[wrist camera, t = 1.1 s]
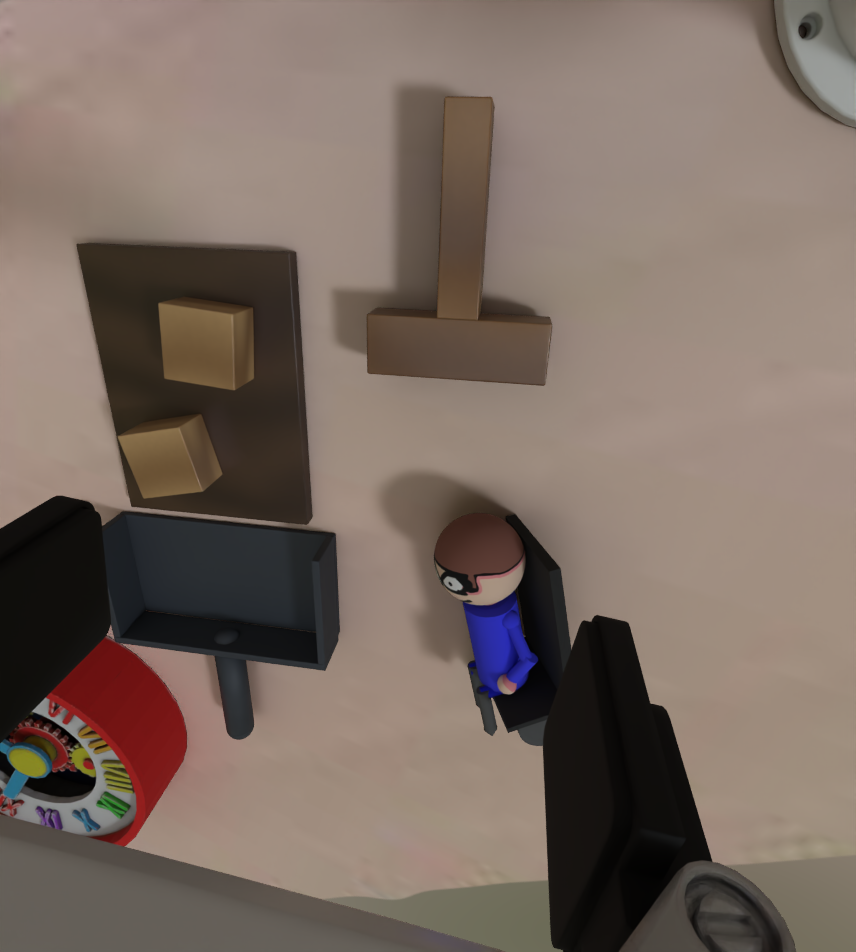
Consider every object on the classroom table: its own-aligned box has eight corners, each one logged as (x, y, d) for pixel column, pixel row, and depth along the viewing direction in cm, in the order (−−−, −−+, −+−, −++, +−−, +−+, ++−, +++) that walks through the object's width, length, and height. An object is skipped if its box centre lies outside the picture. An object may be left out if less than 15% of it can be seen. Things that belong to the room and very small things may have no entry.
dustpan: (122, 511, 39) (88, 536, 36) (335, 533, 37) (319, 561, 34) (163, 702, 46) (138, 736, 43) (344, 728, 45) (330, 766, 41)
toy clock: (187, 773, 40) (92, 889, 49) (226, 709, 46) (134, 823, 54) (-74, 618, 38) (-127, 768, 46) (-1, 568, 43) (-60, 711, 51)
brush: (379, 108, 27) (362, 95, 24) (573, 110, 26) (579, 97, 23) (380, 360, 32) (366, 374, 29) (543, 371, 31) (545, 387, 28)
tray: (88, 243, 32) (75, 243, 31) (296, 251, 30) (289, 253, 29) (140, 500, 38) (131, 506, 38) (312, 517, 37) (307, 525, 36)
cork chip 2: (143, 422, 35) (116, 436, 33) (201, 413, 34) (178, 427, 32) (166, 481, 36) (143, 499, 34) (223, 474, 35) (203, 491, 33)
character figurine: (477, 679, 41) (442, 489, 35) (582, 682, 39) (563, 481, 33) (457, 774, 34) (410, 557, 28) (584, 784, 32) (560, 552, 26)
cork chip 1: (183, 296, 31) (157, 302, 29) (253, 306, 31) (232, 313, 29) (188, 368, 33) (163, 379, 31) (254, 378, 33) (234, 391, 30)
